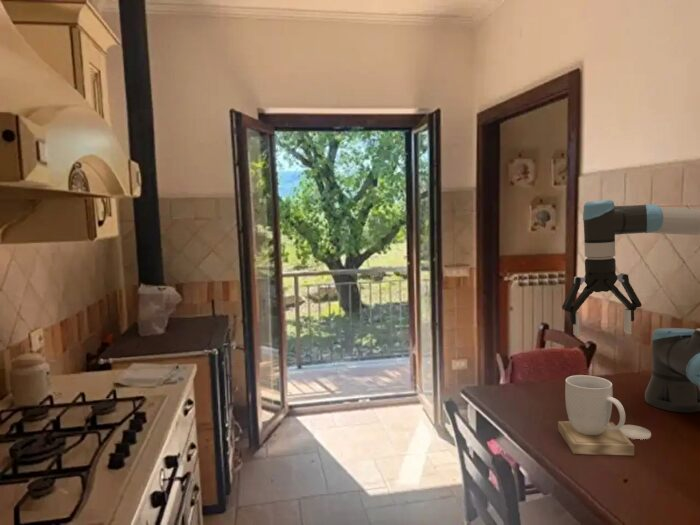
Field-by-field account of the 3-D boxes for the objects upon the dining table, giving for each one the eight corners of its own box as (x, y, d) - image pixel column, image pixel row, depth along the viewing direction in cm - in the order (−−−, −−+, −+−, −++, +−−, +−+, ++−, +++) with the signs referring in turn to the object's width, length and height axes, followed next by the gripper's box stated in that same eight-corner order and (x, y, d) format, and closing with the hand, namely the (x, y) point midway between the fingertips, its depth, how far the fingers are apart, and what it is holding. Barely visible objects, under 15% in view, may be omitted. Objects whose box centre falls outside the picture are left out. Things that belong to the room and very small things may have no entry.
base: (612, 431, 138) (612, 421, 138) (634, 455, 125) (634, 444, 124) (558, 430, 140) (558, 420, 140) (573, 453, 126) (573, 443, 126)
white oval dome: (639, 427, 141) (639, 424, 141) (657, 440, 133) (657, 436, 133) (610, 428, 141) (610, 425, 141) (626, 441, 133) (627, 437, 133)
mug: (636, 437, 128) (636, 386, 127) (611, 449, 122) (612, 396, 121) (580, 418, 141) (581, 372, 139) (556, 429, 135) (556, 380, 133)
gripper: (640, 253, 142) (642, 328, 144) (548, 259, 144) (551, 333, 146) (654, 255, 135) (656, 335, 137) (557, 262, 137) (560, 340, 139)
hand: (601, 334), depth 141 cm, fingers open, 13 cm apart
